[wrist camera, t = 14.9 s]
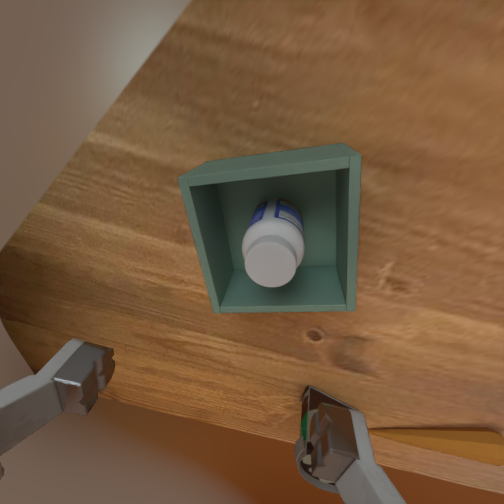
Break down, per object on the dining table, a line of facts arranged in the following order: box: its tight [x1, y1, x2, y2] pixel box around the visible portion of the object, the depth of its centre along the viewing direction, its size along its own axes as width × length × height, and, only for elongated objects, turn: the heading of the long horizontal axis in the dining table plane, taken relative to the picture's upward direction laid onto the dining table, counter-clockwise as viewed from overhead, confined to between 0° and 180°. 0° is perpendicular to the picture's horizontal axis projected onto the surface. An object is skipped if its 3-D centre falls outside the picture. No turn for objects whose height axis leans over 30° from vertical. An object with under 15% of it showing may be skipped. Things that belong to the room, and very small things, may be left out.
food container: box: [294, 385, 358, 493], centre depth 39 cm, size 12×6×10 cm, turn 61°
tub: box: [178, 143, 362, 313], centre depth 26 cm, size 14×14×8 cm
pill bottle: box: [242, 198, 305, 287], centre depth 24 cm, size 5×5×10 cm
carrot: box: [368, 428, 504, 466], centre depth 41 cm, size 20×4×4 cm, turn 103°
